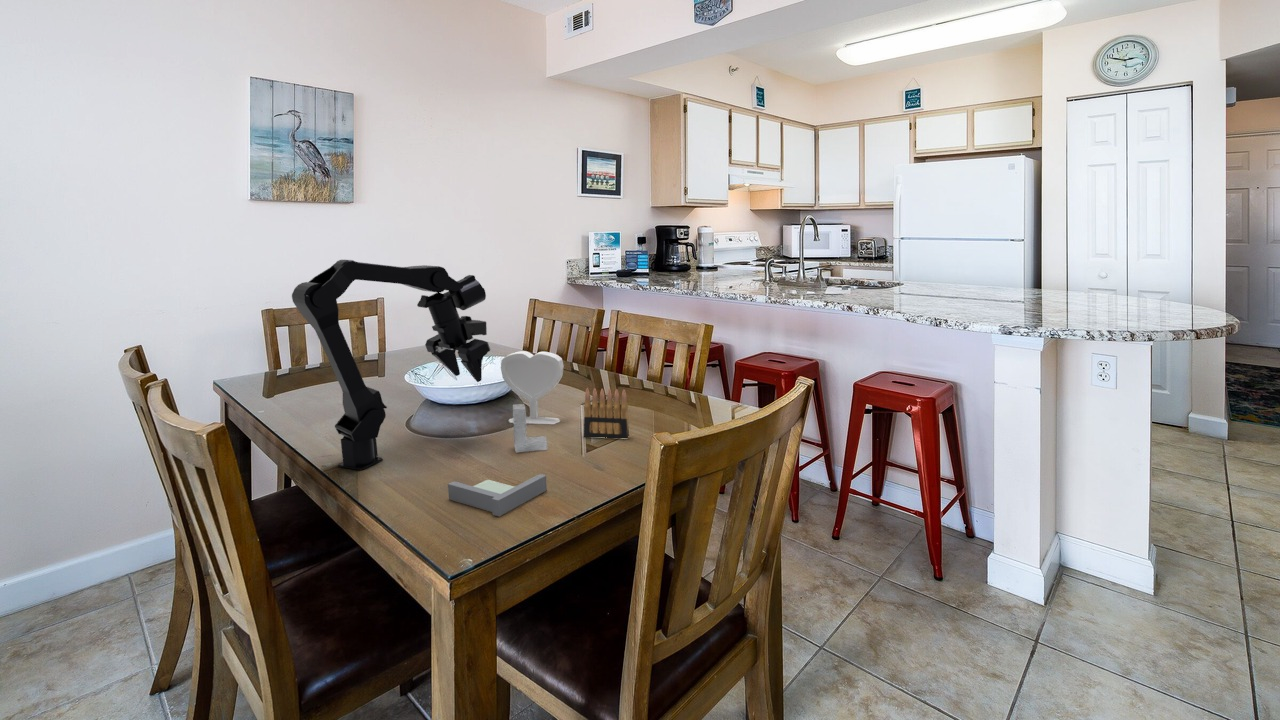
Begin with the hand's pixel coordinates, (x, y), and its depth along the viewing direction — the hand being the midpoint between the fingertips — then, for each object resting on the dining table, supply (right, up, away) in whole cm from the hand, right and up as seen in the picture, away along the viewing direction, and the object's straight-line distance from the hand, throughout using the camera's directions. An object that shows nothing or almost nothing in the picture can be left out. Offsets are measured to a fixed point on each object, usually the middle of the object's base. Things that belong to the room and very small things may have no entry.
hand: (468, 378), depth 151 cm
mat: (+13, -21, -32) cm, 40 cm away
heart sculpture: (+13, -12, +13) cm, 22 cm away
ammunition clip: (+33, -14, 0) cm, 36 cm away
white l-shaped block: (+16, -16, -7) cm, 24 cm away
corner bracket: (+14, -21, -33) cm, 42 cm away
